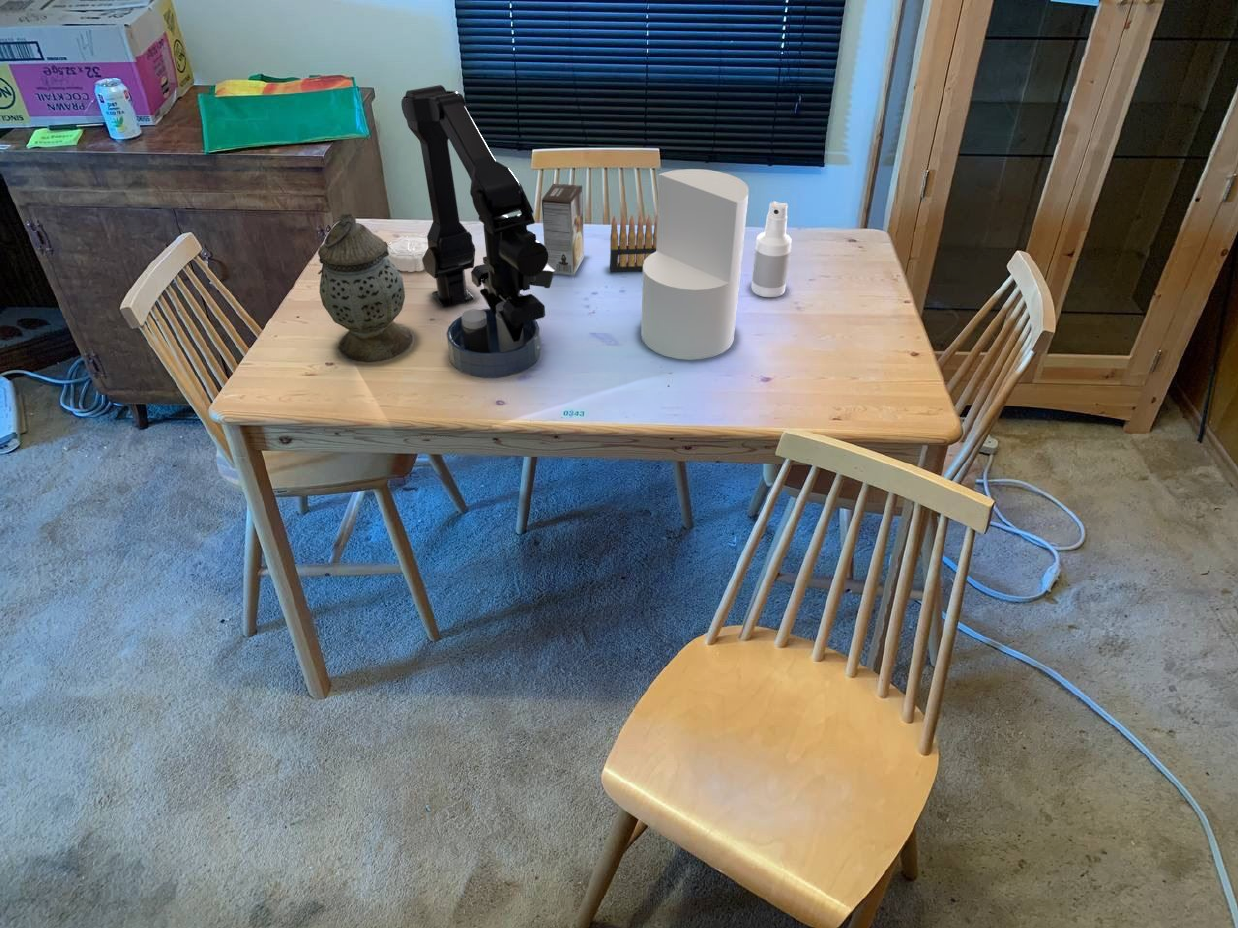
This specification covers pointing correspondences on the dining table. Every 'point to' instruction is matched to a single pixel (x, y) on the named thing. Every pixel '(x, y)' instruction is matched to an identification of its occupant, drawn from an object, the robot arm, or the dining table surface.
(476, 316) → the pepper shaker
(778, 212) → the spray bottle
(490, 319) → the bowl
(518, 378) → the dining table surface
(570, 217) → the coffee box
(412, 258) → the mooncake
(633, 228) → the ammunition clip
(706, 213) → the cylinder
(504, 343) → the salt shaker
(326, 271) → the lantern
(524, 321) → the robot arm
